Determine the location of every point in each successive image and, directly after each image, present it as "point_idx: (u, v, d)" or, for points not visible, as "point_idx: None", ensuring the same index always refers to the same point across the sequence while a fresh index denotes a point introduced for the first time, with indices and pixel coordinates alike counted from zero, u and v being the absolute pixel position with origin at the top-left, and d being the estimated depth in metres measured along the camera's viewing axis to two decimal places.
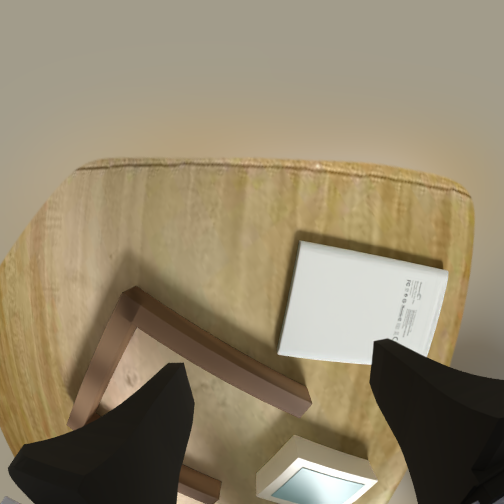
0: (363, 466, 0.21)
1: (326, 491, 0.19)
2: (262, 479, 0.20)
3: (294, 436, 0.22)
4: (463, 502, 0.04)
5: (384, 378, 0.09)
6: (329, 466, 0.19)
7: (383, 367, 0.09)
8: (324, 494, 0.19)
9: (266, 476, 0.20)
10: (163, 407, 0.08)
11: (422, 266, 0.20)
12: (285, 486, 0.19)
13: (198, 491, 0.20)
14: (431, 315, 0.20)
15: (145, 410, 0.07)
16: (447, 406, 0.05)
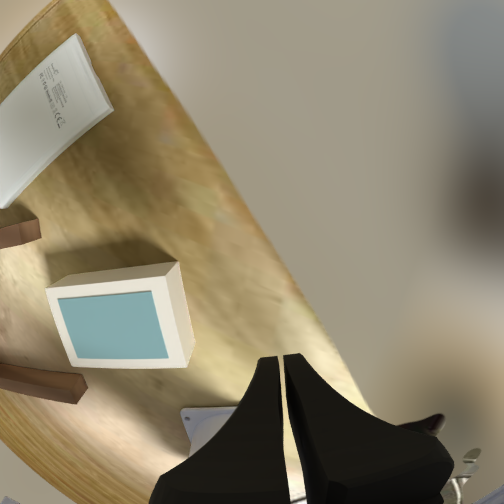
0: (153, 269, 0.18)
1: (113, 323, 0.17)
2: None
3: (66, 276, 0.19)
4: None
5: (288, 395, 0.09)
6: (80, 284, 0.16)
7: (287, 384, 0.09)
8: (119, 330, 0.17)
9: None
10: (279, 402, 0.08)
11: (48, 55, 0.15)
12: (73, 337, 0.17)
13: (53, 388, 0.19)
14: (78, 69, 0.15)
15: (274, 407, 0.07)
16: (311, 442, 0.05)
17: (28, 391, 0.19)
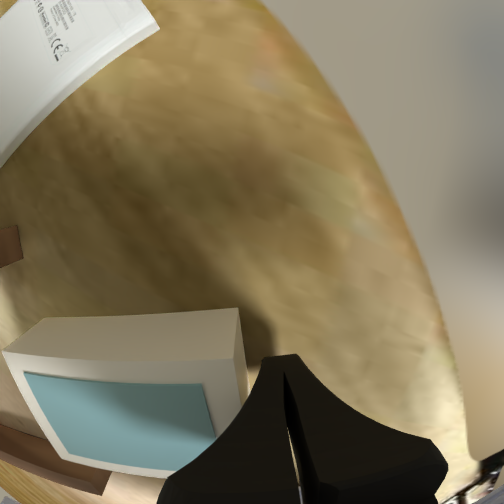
0: (196, 331, 0.09)
1: (125, 424, 0.08)
2: None
3: (40, 322, 0.11)
4: None
5: (284, 396, 0.09)
6: (58, 355, 0.08)
7: None
8: (136, 433, 0.08)
9: None
10: (284, 402, 0.08)
11: None
12: (58, 427, 0.09)
13: (64, 475, 0.11)
14: None
15: (280, 406, 0.07)
16: (304, 443, 0.05)
17: (29, 469, 0.11)
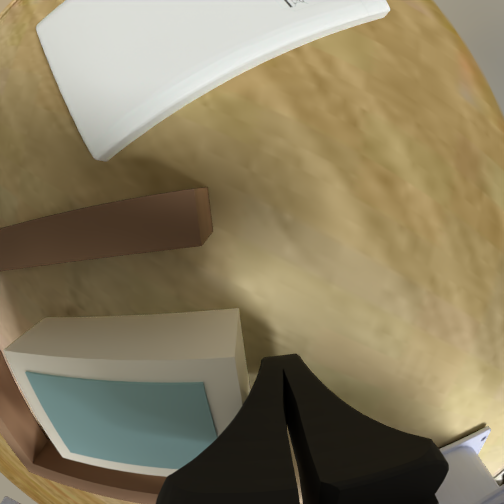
0: (197, 330, 0.09)
1: (127, 423, 0.08)
2: None
3: (41, 321, 0.11)
4: None
5: (285, 396, 0.09)
6: (60, 354, 0.08)
7: (283, 384, 0.09)
8: (138, 431, 0.09)
9: None
10: (283, 402, 0.08)
11: None
12: (59, 426, 0.09)
13: None
14: None
15: (279, 406, 0.07)
16: (305, 443, 0.05)
17: (145, 500, 0.11)
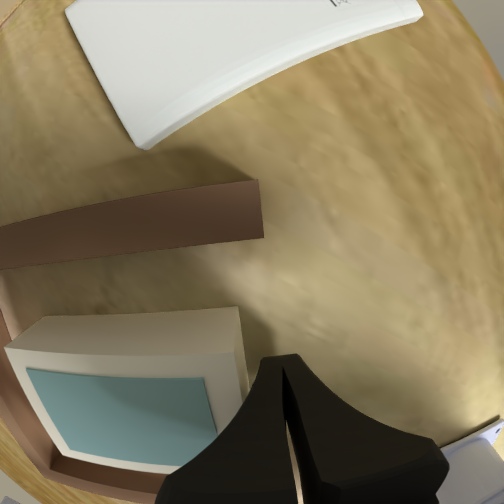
0: (197, 327, 0.10)
1: (127, 419, 0.08)
2: None
3: (42, 318, 0.11)
4: None
5: (285, 396, 0.09)
6: (60, 350, 0.08)
7: (284, 384, 0.09)
8: (137, 428, 0.09)
9: None
10: (283, 402, 0.08)
11: None
12: (59, 423, 0.09)
13: None
14: None
15: (278, 406, 0.07)
16: (306, 443, 0.05)
17: None
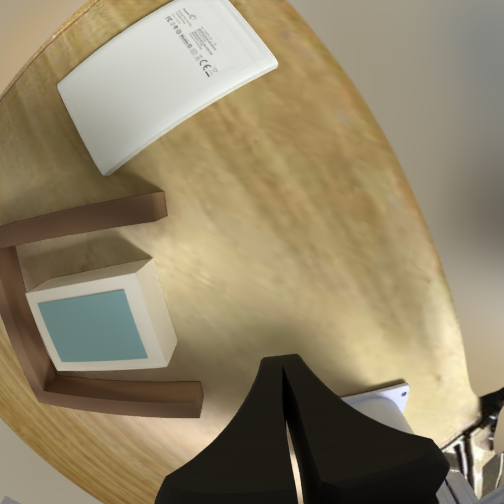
0: (127, 267, 0.17)
1: (91, 324, 0.16)
2: None
3: (48, 280, 0.18)
4: None
5: (285, 396, 0.09)
6: (57, 286, 0.16)
7: (284, 384, 0.09)
8: (97, 331, 0.16)
9: None
10: (283, 402, 0.08)
11: (174, 0, 0.14)
12: (56, 340, 0.16)
13: (167, 403, 0.18)
14: (227, 17, 0.14)
15: (278, 406, 0.07)
16: (306, 443, 0.05)
17: (123, 410, 0.18)
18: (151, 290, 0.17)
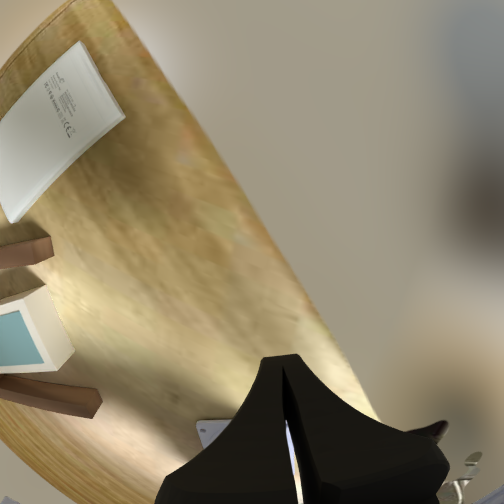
0: (26, 293, 0.18)
1: (8, 337, 0.17)
2: None
3: None
4: None
5: (285, 396, 0.09)
6: None
7: (284, 384, 0.09)
8: (12, 342, 0.17)
9: None
10: (283, 402, 0.08)
11: (52, 64, 0.15)
12: None
13: (68, 403, 0.19)
14: (85, 76, 0.15)
15: (278, 406, 0.07)
16: (306, 443, 0.05)
17: (42, 405, 0.20)
18: (41, 310, 0.18)
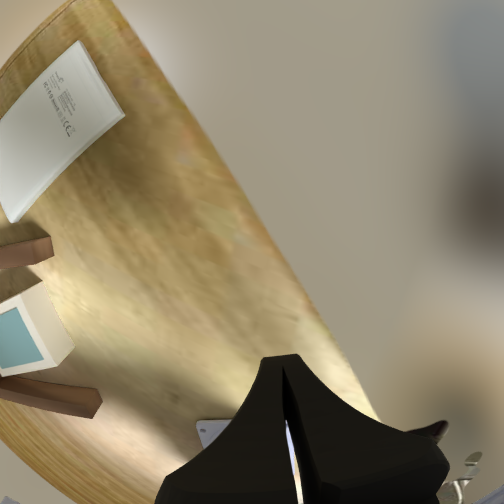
0: (23, 291, 0.18)
1: (7, 336, 0.17)
2: None
3: None
4: None
5: (285, 396, 0.09)
6: None
7: (284, 384, 0.09)
8: (12, 341, 0.17)
9: None
10: (283, 402, 0.08)
11: (51, 64, 0.15)
12: None
13: (68, 403, 0.19)
14: (84, 75, 0.15)
15: (278, 406, 0.07)
16: (306, 443, 0.05)
17: (42, 405, 0.20)
18: (39, 306, 0.18)
